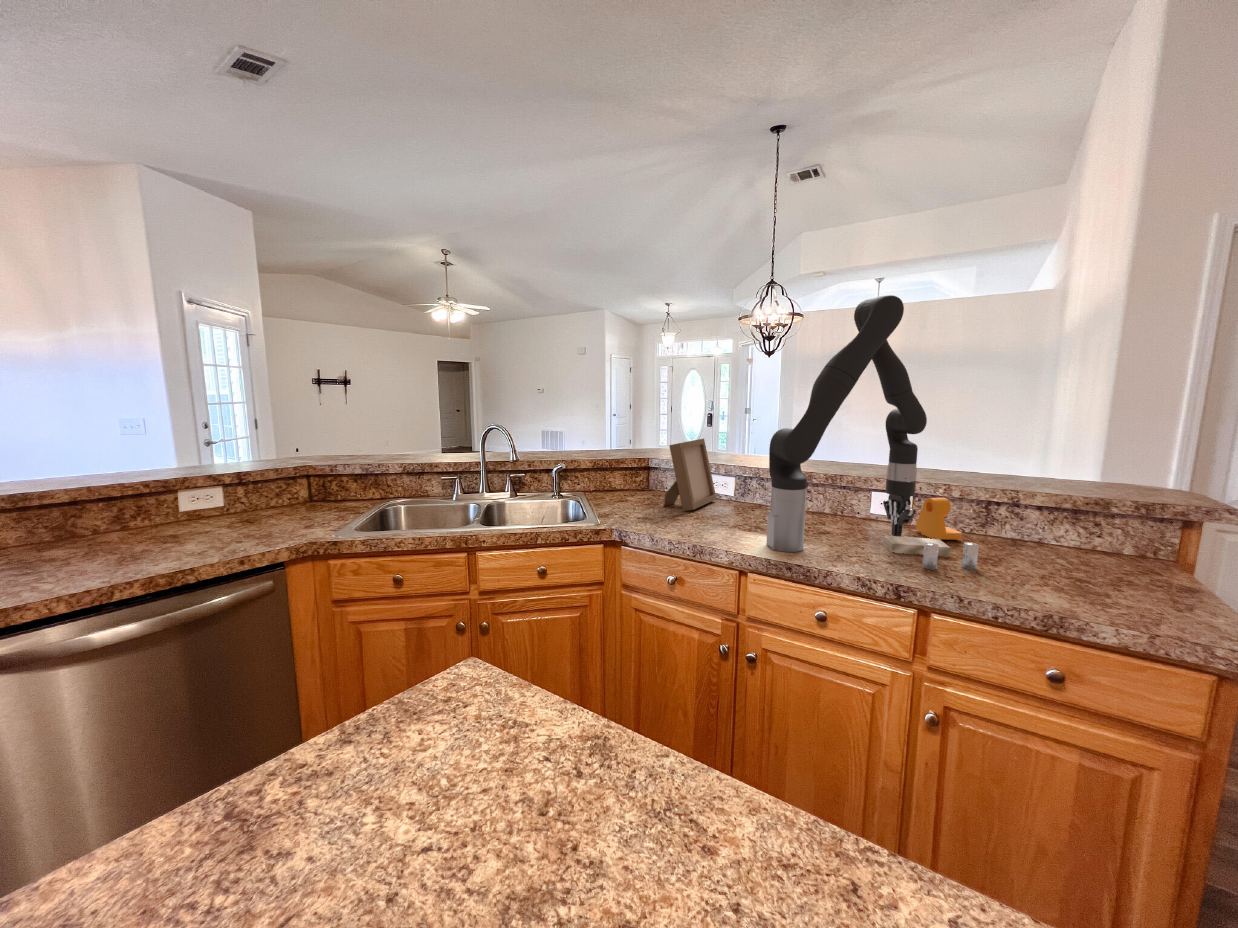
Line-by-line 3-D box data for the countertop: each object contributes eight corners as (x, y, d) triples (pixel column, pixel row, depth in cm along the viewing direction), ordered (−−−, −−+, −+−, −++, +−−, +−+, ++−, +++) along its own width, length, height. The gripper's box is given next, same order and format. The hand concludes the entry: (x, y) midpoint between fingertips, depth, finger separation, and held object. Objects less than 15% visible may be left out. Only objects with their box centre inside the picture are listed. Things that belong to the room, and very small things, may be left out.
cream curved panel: (891, 554, 137) (892, 543, 137) (883, 545, 145) (884, 535, 144) (949, 558, 134) (950, 547, 133) (938, 549, 141) (939, 539, 141)
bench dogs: (927, 569, 124) (929, 546, 123) (919, 565, 127) (921, 542, 126) (979, 569, 124) (981, 545, 123) (970, 565, 127) (973, 542, 126)
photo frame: (716, 501, 201) (717, 438, 197) (693, 512, 182) (694, 443, 179) (682, 497, 209) (683, 437, 205) (657, 507, 191) (657, 442, 187)
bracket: (962, 542, 147) (966, 501, 146) (938, 542, 147) (942, 501, 145) (938, 531, 158) (941, 494, 156) (915, 532, 158) (918, 494, 156)
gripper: (876, 474, 152) (871, 530, 155) (901, 482, 139) (896, 542, 142) (900, 474, 153) (896, 530, 155) (928, 482, 139) (922, 542, 142)
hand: (896, 536), depth 148 cm, fingers closed
